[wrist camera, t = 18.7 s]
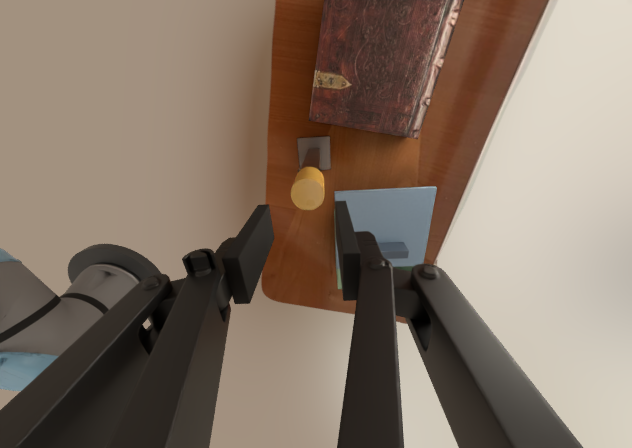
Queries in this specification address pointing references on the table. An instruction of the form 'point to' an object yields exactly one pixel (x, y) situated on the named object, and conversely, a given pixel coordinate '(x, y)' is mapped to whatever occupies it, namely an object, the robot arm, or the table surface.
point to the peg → (308, 189)
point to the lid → (393, 220)
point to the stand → (314, 152)
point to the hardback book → (380, 62)
